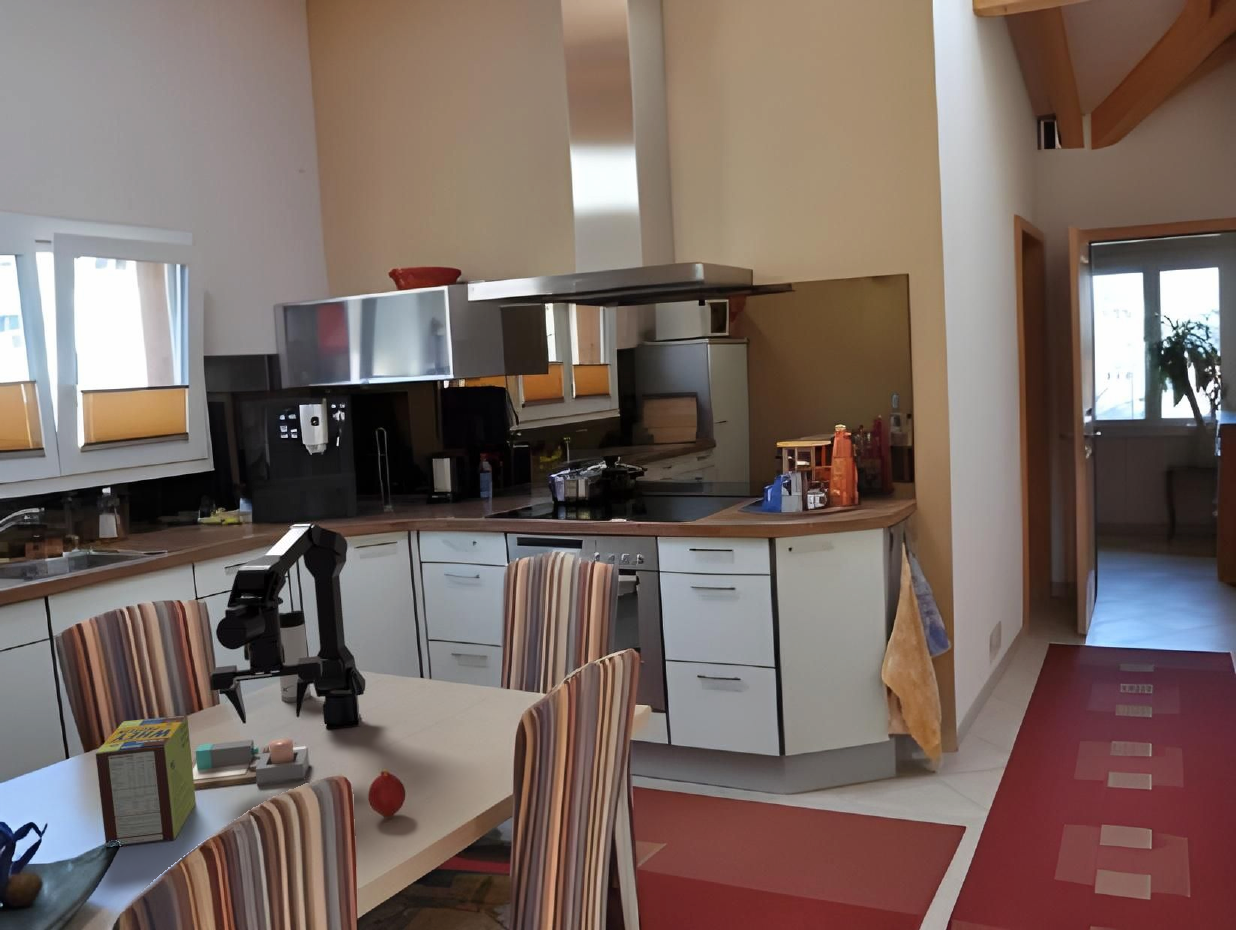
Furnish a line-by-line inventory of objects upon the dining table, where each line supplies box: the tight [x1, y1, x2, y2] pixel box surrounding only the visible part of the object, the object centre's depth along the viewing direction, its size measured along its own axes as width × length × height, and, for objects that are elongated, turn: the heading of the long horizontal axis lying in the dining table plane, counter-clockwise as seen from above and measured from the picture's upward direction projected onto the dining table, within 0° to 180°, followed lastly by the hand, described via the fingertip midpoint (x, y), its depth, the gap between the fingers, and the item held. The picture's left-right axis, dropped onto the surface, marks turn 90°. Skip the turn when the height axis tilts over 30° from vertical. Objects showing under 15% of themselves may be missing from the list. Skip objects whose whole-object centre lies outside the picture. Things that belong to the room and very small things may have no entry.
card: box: [293, 745, 307, 750], centre depth 204 cm, size 6×5×1 cm
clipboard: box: [192, 745, 270, 790], centre depth 198 cm, size 13×16×2 cm
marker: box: [195, 739, 259, 770], centre depth 198 cm, size 10×4×4 cm, turn 100°
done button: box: [268, 738, 294, 765], centre depth 193 cm, size 4×4×4 cm
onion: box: [367, 769, 406, 819], centre depth 172 cm, size 6×6×8 cm
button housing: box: [256, 748, 310, 787], centre depth 193 cm, size 8×8×3 cm
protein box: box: [95, 714, 196, 847], centre depth 174 cm, size 10×15×16 cm
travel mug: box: [279, 609, 312, 703], centre depth 239 cm, size 6×7×20 cm
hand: (271, 719), depth 193 cm, fingers open, 9 cm apart
